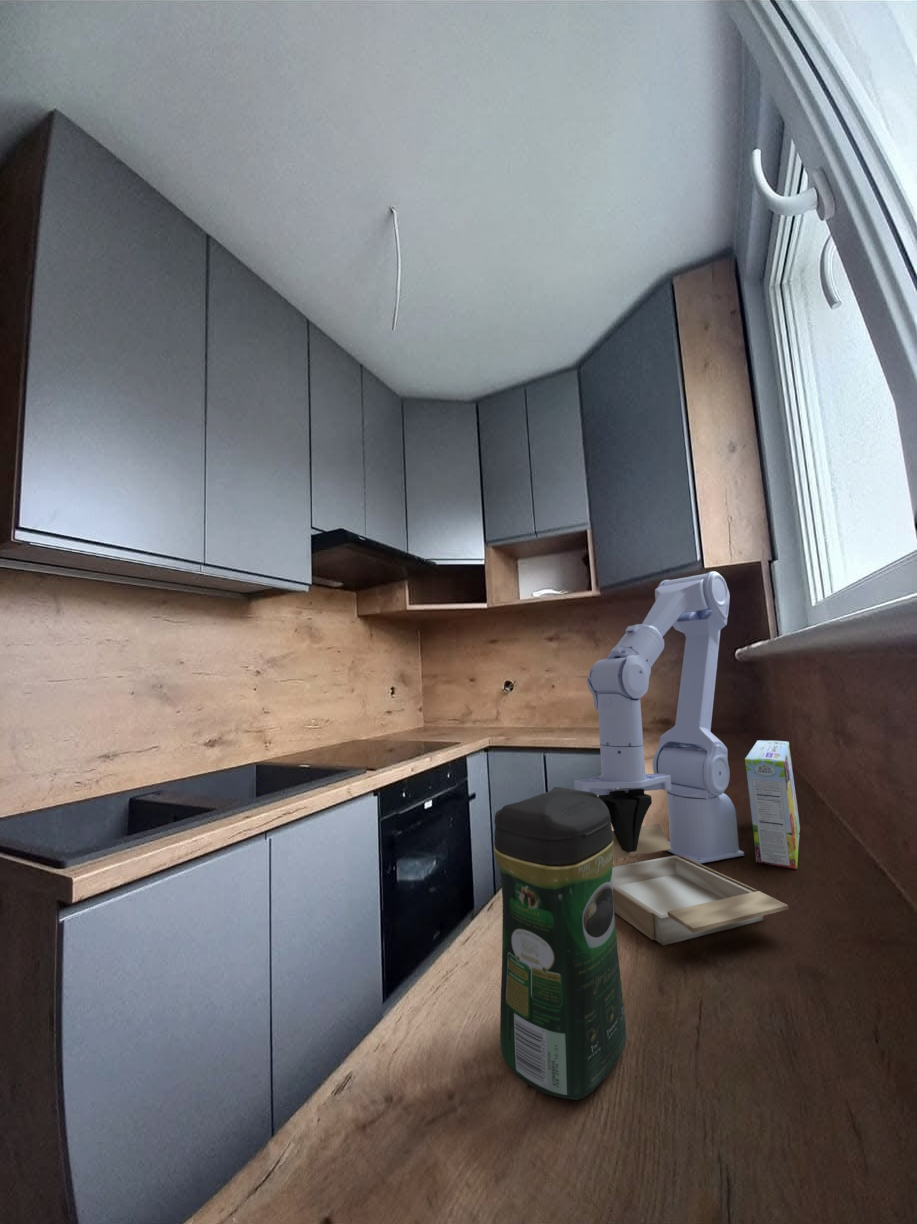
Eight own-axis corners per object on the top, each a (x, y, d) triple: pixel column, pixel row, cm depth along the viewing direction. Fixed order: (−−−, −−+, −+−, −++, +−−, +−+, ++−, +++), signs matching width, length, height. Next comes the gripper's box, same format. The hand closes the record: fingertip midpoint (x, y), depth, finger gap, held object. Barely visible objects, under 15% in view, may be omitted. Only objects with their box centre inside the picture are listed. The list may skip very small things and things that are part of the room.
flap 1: (670, 849, 67) (657, 825, 69) (671, 848, 67) (659, 823, 69) (591, 863, 63) (580, 836, 65) (592, 862, 62) (582, 835, 65)
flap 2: (758, 890, 54) (788, 905, 51) (759, 894, 54) (788, 909, 51) (667, 911, 50) (693, 928, 47) (667, 915, 50) (693, 932, 47)
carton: (679, 874, 67) (677, 853, 67) (766, 919, 54) (764, 893, 55) (586, 893, 62) (585, 870, 62) (659, 946, 50) (657, 917, 50)
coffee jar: (551, 996, 42) (542, 776, 45) (640, 1040, 37) (626, 789, 39) (480, 1062, 35) (474, 797, 38) (578, 1130, 30) (565, 816, 32)
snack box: (763, 824, 88) (755, 739, 89) (801, 829, 84) (792, 741, 86) (752, 862, 70) (743, 756, 72) (799, 871, 67) (788, 759, 69)
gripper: (643, 740, 73) (650, 835, 71) (560, 744, 68) (564, 846, 66) (679, 744, 67) (687, 849, 64) (590, 749, 62) (595, 863, 59)
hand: (627, 849), depth 65 cm, fingers closed, pressing on flap 1
